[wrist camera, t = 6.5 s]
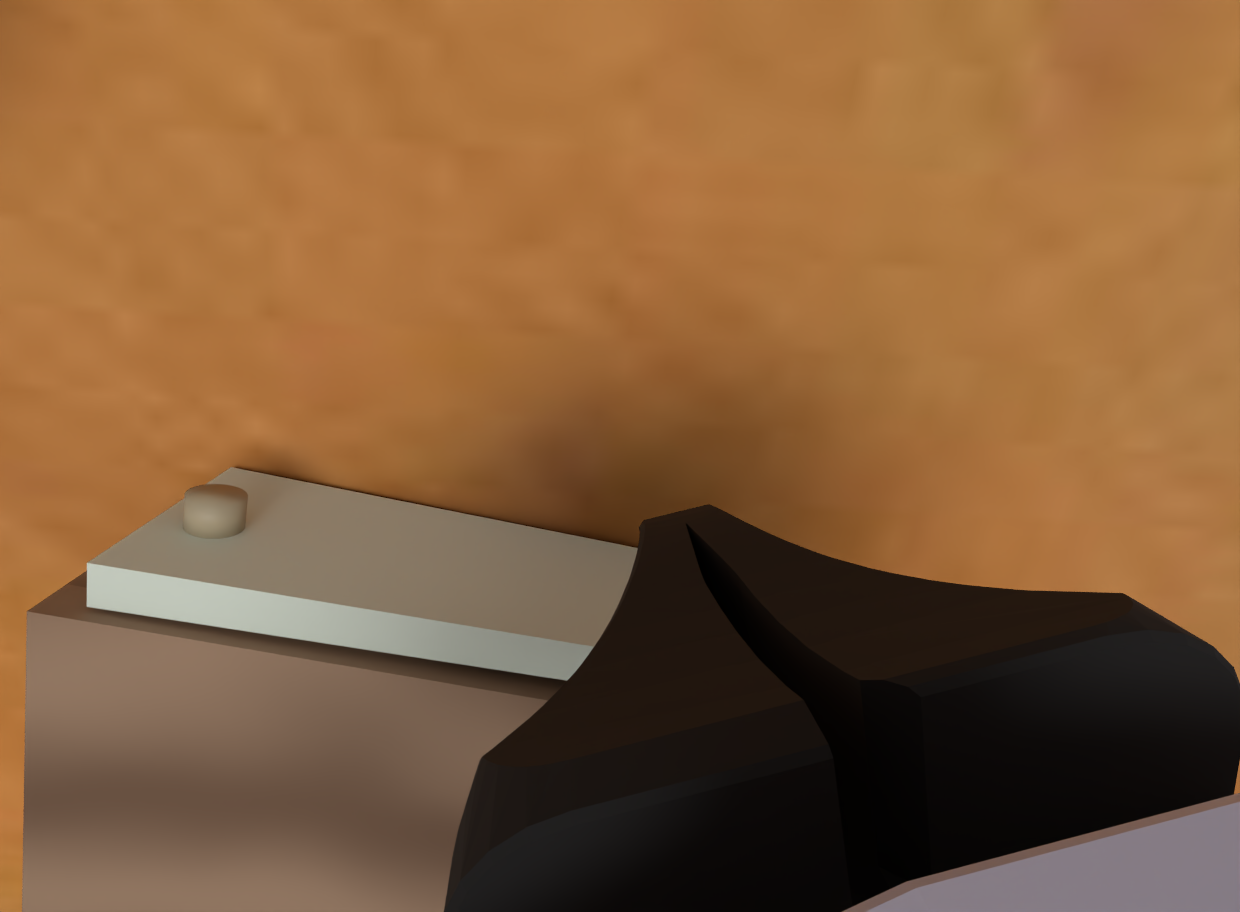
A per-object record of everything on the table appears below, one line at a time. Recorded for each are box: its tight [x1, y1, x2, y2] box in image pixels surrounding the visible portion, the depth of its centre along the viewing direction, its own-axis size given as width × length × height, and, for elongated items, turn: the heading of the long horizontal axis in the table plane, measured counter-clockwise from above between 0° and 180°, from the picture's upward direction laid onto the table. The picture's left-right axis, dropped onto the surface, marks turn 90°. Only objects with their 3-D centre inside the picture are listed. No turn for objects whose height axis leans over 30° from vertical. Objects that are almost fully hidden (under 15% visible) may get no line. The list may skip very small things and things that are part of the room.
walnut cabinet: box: [22, 571, 566, 912], centre depth 17 cm, size 10×16×6 cm, turn 73°
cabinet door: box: [87, 467, 638, 681], centre depth 16 cm, size 2×15×6 cm, turn 74°
